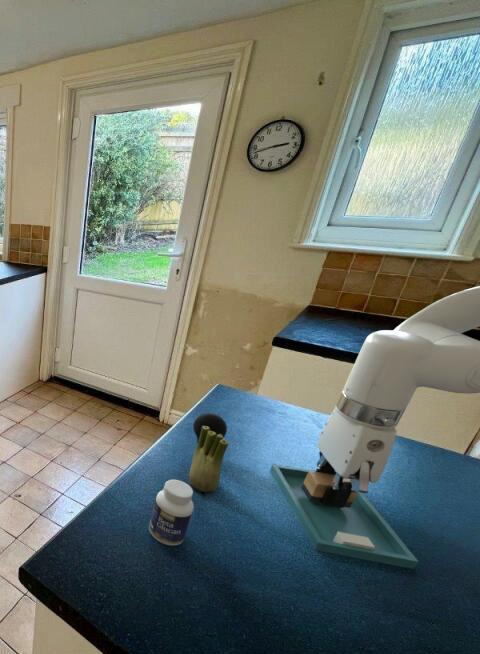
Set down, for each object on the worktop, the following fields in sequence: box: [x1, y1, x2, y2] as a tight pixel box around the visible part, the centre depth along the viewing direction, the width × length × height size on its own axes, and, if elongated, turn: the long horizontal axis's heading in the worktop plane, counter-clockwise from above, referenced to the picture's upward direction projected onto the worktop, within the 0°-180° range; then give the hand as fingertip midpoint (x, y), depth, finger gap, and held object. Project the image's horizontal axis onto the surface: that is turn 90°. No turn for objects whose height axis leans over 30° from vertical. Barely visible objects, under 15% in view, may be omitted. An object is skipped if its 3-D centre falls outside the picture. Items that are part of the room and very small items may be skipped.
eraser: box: [301, 471, 358, 508], centre depth 73 cm, size 6×4×4 cm, turn 74°
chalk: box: [333, 532, 375, 550], centre depth 64 cm, size 4×2×2 cm, turn 73°
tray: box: [269, 463, 420, 570], centre depth 71 cm, size 13×20×2 cm, turn 164°
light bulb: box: [192, 412, 228, 444], centre depth 84 cm, size 6×6×10 cm
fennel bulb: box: [188, 426, 229, 493], centre depth 76 cm, size 6×5×12 cm
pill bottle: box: [148, 479, 195, 547], centre depth 66 cm, size 5×5×10 cm
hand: (326, 495), depth 73 cm, fingers closed on eraser, 3 cm apart
